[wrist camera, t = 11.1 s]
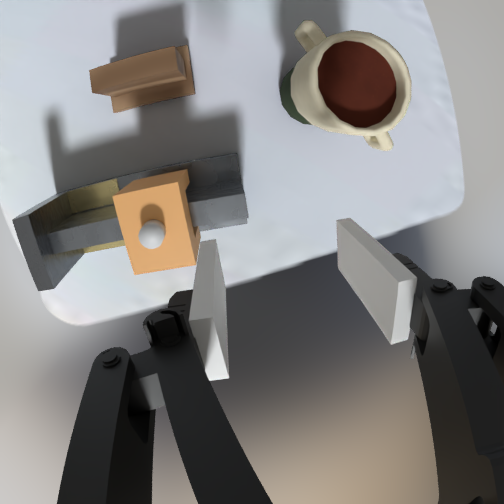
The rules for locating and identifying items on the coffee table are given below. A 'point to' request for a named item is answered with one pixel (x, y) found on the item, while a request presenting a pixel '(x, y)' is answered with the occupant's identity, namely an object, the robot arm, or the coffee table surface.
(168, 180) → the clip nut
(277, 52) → the coffee table surface
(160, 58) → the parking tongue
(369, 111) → the character mug
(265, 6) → the coffee table surface
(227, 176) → the rail
